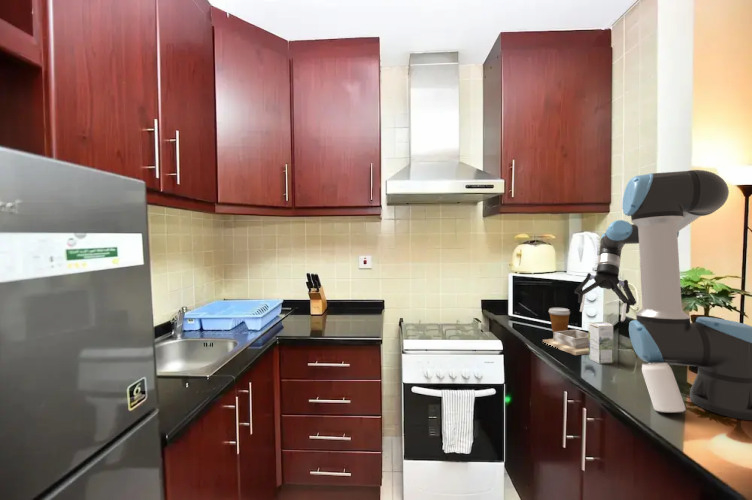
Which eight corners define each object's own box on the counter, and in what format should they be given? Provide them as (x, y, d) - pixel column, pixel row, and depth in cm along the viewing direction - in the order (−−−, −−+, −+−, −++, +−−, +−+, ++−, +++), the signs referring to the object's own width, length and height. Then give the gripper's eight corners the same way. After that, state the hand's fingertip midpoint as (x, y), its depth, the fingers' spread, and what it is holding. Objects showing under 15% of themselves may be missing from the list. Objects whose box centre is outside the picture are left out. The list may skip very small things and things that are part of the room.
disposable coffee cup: (550, 335, 164) (550, 310, 164) (547, 330, 173) (546, 307, 173) (573, 336, 161) (572, 311, 161) (568, 331, 170) (567, 307, 170)
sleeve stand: (611, 350, 139) (611, 337, 139) (575, 355, 135) (575, 341, 135) (575, 339, 156) (575, 327, 156) (542, 343, 152) (542, 331, 152)
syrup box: (602, 358, 130) (601, 320, 130) (614, 363, 124) (613, 324, 124) (588, 359, 130) (587, 321, 130) (599, 364, 124) (598, 325, 124)
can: (690, 412, 84) (672, 361, 88) (658, 413, 86) (642, 363, 90) (681, 408, 89) (665, 361, 93) (652, 409, 92) (637, 363, 96)
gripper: (642, 277, 135) (638, 327, 127) (572, 265, 146) (564, 310, 139) (649, 269, 129) (644, 321, 121) (574, 257, 140) (566, 303, 133)
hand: (601, 315), depth 130 cm, fingers open, 13 cm apart
